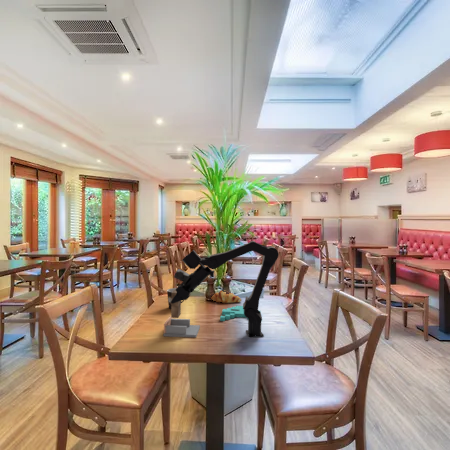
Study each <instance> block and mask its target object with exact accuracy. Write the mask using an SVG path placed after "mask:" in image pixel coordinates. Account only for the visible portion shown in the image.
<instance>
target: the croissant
mask: <svg viewBox="0 0 450 450" xmlns="http://www.w3.org/2000/svg"><path fill="white" fill-rule="evenodd" d="M228 293H229V294H226V292H223V291H222V290H219V291H217V292H215V293H213V294H214V295H213V296H212V297H211V299H212V300H213V301H212V300H211V299H210V300H211V301H212V302H214V301H216V303H220V302H222V304H230V303H231V304H232V303H233V304H234V303H241V302H242V300H243V299H242V298H241V297H239V296H238V295H236V294H234V292H228Z"/></svg>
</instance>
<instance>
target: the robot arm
mask: <svg viewBox="0 0 450 450" xmlns="http://www.w3.org/2000/svg"><path fill="white" fill-rule="evenodd" d="M250 252H255V253H257V254H259V255H262V262H261V267H260V269H259V272H258V275H257V278H256V281H255V284H254V286H253V288H252V291H251V294H250V295H249V297H248V296H245V298H244V302H243V303H242V306H243V309H244V315H245V316H246V317H247V318H248V319H247V329H246V330H245V333H246V334H247V336H248V337H249V338H258V337H259V338H260V337H264V336H265V335H264V333H263V332H262V321H263V316H262V313H261V312H262V311H261V310H259V305H260V299H261V295H262V293H263V290H264V287H265V285H266V282H267V280H268V279H267V278H268V276H269V274H270V271H271V269H272V268H273V266H274V265H275V263H276V262H277V260H278V259H279V251H278V249H277V248H276V247H275V246H271V245H270V246H265V245H264V244H261V243H258V242H257V241H254V240H250V242H248V243H244V244H243V245H242V244H241V245H240V246H238V247H235V248H233V249H230V250H227V251H224V252H218V253H214V254H213V253H212V254H211V255H210V256H209V257H201V256H200V255H199V254H197V252H196V250H195V249H193V250H191V251H190V253H188V254H186V255H185V257H183V258H182V259H181V261H182V262H183V263H184V264H185V265H186V267H188V268H189V269H190V270H194V271H193V272H191V273H190V274H189V273H188V272H186V271H184V270H182V269H179V268H178V269H177V270H176V271H175V273H174V276H173V278H174V279H178V280H179V281H181V283H180V284H179V285H178V286H177V287H175V288H176V289H175V290H176V291H177V294H176V295H175V297H174V298H173V299H172V301H171V303H172V304H173V303H176V302H178V301H181V302H182V301H183V300H184V301H187V300H188V299H189V298H190V297H191V293H193V292H194V291H195V289H197V287H199V286H200V285H201V284H202V283H203V282H204V281H205V280H206V279H207V278H208V277H209V276H210V277H211V278H214V277H215V270H217V269H218V268H220V267H221V266H222V265H224V264H225V263H228V262H229V261H232V260H233V259H236V258H238V257H241V256H244V255H246V254H248V253H250ZM260 311H261V312H260ZM246 317H245V318H246Z"/></svg>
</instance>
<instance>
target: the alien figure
mask: <svg viewBox="0 0 450 450" xmlns="http://www.w3.org/2000/svg"><path fill="white" fill-rule="evenodd" d="M259 311H260V312H262V311H261V310H259ZM235 318H245V319H246V318H247V317H246V316H245V315H244V309H243V305H236V306H232V307H227V308H223V309H222V310H221V315H220V317H219V321H220V322H225V321H226V320H227V321H230V320H231V319H235ZM247 320H248V318H247Z"/></svg>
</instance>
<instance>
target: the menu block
mask: <svg viewBox="0 0 450 450" xmlns="http://www.w3.org/2000/svg"><path fill="white" fill-rule="evenodd" d="M176 294H177V291H176V290H174V291H173V292H172V299H173V298H174V297H175V295H176ZM172 299H171V301H172ZM181 302H182V300H181V301H178V302H176V303H173V304H172V303H171V309H170V311H171V313H170V314H171V315H170V316H171V318H172V319H179V318H180V316H181V313H182V312H181V305H182V303H181Z"/></svg>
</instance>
